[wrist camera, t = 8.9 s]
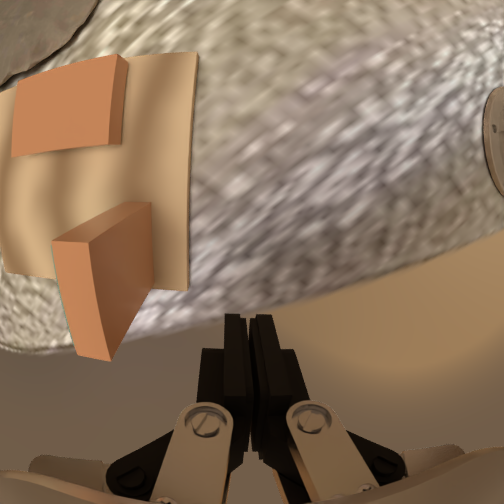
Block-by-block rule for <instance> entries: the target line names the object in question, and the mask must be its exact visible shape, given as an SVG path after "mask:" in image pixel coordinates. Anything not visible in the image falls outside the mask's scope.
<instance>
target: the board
mask: <svg viewBox="0 0 504 504" xmlns="http://www.w3.org/2000/svg"><path fill="white" fill-rule="evenodd" d="M124 59H125V60H126V61H128V68H127V76H126V84H125V92H124V102H123V114H122V128H121V145H107V146H95V147H85V148H76V149H67V150H60V151H52V152H46V153H39V154H33V155H27V156H19V157H12V158H11V148H12V127H13V115H14V106H15V97H16V90H17V86H15V87H13V88H10V89H8V90H5V91H3V92H1V93H0V247H1V252H2V257H3V262H4V267H5V272H7V273H14V274H21V275H28V276H35V277H43V278H51V279H56V274H55V269H54V263H53V257H52V251H51V245H52V244H51V241H52V240H54V239H55V238H57V237H59V236H61V235H62V234H64V233H66V232H68V231H69V230H71V229H73V228H75V227H77V226H78V225H80V224H82V223H84V222H86V221H88V220H90V219H92V218H94V217H95V216H97V215H99V214H101V213H103V212H105V211H107V210H109V209H111V208H113V207H115V206H117V205H119V204H121V203H123V202H151V222H152V250H153V268H154V282H155V283H154V285H153V286H152V288H151V289H163V290H177V291H188V288H189V194H190V165H191V145H192V129H193V115H194V102H195V91H196V80H197V70H198V61H199V55H198V53H197V52H179V53H164V54H153V55H143V56H135V57H128V58H124Z"/></svg>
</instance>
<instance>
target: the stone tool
mask: <svg viewBox="0 0 504 504" xmlns="http://www.w3.org/2000/svg"><path fill="white" fill-rule="evenodd" d="M97 3H98V0H0V86H1V85H2V84H3V83H5V82H6V81H7V80H8V79H9V78H10V77H11V76H13V75H14V74H17V73H20V72H23V71H27V70H29V69H31V68H32V67H34V66H35V65H37V64H38V63H39V62H41V61H42V60H43V59H45V58H47V57H48V56H50V55H51V54H52V53H53V52H54V51H56V50H58V49H59V48H61V47H62V46H64V45H65V44H66V43H67V42H68V41H69V40H70V39H71V38H72V36H73V34H74V33H75V31H76V30H77V28H79V27H80V26H81V25H82V24H83V23H84V22H85V20H86V19H87V17H88V16H89V15H90V13H91V12H92V11H93V9H94V8H95V7H96V5H97Z"/></svg>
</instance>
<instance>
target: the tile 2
mask: <svg viewBox="0 0 504 504" xmlns="http://www.w3.org/2000/svg"><path fill="white" fill-rule="evenodd" d="M51 244H52V245H51V251H52V257H53V263H54V269H55V274H56V279H57V284H58V289H59V293H60V298H61V302H62V306H63V310H64V314H65V318H66V321H67V325H68V328H69V332H70V335H71V339H72V342H73V345H74V346H75V349H76V352H77V355H80V356H85V357H90V358H95V359H100V360H106V361H112V359H113V357H114V355H115V353H116V351H117V349H118V347H119V345H120V344H121V342H122V340H123V338H124V336H125V334H126V332H127V331H128V329H129V327H130V325H131V323H132V321H133V320H134V318H135V316H136V314H137V312H138V311H139V309H140V307H141V305H142V304H143V302H144V300H145V298H146V297H147V295H148V293H149V292H150V290H151V288H152V286H153V285H154V283H155V282H154V268H153V250H152V222H151V202H123V203H121V204H119V205H117V206H115V207H113V208H111V209H109V210H107V211H105V212H103V213H101V214H99V215H97V216H95V217H94V218H92V219H90V220H88V221H86V222H84V223H82V224H80V225H78V226H77V227H75V228H73V229H71V230H69V231H68V232H66V233H64V234H62V235H61V236H59V237H57V238H55V239H54V240H52V241H51Z"/></svg>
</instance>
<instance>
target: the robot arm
mask: <svg viewBox="0 0 504 504" xmlns="http://www.w3.org/2000/svg"><path fill="white" fill-rule="evenodd" d="M483 130H484V144H485V152H486V157H487V162H488V166H489V169H490V172H491V175H492V178H493V180H494V183H495V185H496V187H497V188H498V190H499V191H500V193H501V194H502V195H503V196H504V87H499V88H496V89H495V90H494V91H493V92H492V93H491V95H490V96H489V98H488V101H487V104H486V107H485V114H484V128H483ZM199 373H200V374H199V382H198V392H197V402H196V403H194V404H192V405H190V406H188V407H186V408H185V409H184V410H183V411H182V412H181V414H180V415H179V418H178V420H177V423H176V426H175V429H174V430H172V431H170V432H169V433H167V434H165V435H164V436H162V437H160V438H158V439H156V440H155V441H153V442H151V443H149V444H147V445H145V446H144V447H142V448H140V449H138V450H136V451H134V452H132V453H130V454H128V455H126V456H124V457H122V458H120V459H118V460H116V461H115V462H114V463H112V464H105V463H103V462H102V461H99V460H84V459H73V458H65V457H58V456H51V455H40V456H38V457H36V458H34V459H33V460H32V461H31V463H30V466H29V470H28V472H27V471H20V470H0V504H227V498H228V491H229V486H230V479H231V472H232V471H233V470H235V469H236V468H237V467H238V466H240V465H241V464H242V463H243V455H244V452H248V444H249V436H250V433H251V443H252V451H255V452H256V451H258V453H259V459H263V462H264V463H265V464H267V465H268V466H270V467H272V472H273V476H274V478H275V481H276V484H277V487H278V489H279V493H280V495H281V498H282V501H283V503H284V504H504V447H488V448H483V449H479V450H474V451H471V452H469V453H466V454H465V453H464V451H463V449H461V448H460V447H459V446H457V445H454V444H446V445H441V446H436V447H429V448H422V449H415V450H404V451H403V452H402V453H401V454H398V453H396V452H394V451H392V450H390V449H388V448H385V447H383V446H381V445H378V444H376V443H374V442H371V441H369V440H367V439H364V438H362V437H360V436H358V435H356V434H353V433H351V432H349V431H347V430H345V428H344V426H343V425H342V423H341V421H340V420H339V418H338V416H337V415H336V413H335V412H334V411H333V410H332V408H331V407H329V406H328V405H326V404H324V403H322V402H319V401H312V400H310V398H309V395H308V393H307V389H306V386H305V383H304V380H303V376H302V373H301V370H300V367H299V364H298V360H297V357H296V354H295V352H294V350H293V349H280V345H279V341H278V337H277V334H276V329H275V325H274V322H273V318H272V315H267V314H256V318H250V326H249V339H248V334H247V325H246V318H240V314H225V328H224V349H211V348H203V349H202V355H201V363H200V372H199Z"/></svg>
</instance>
